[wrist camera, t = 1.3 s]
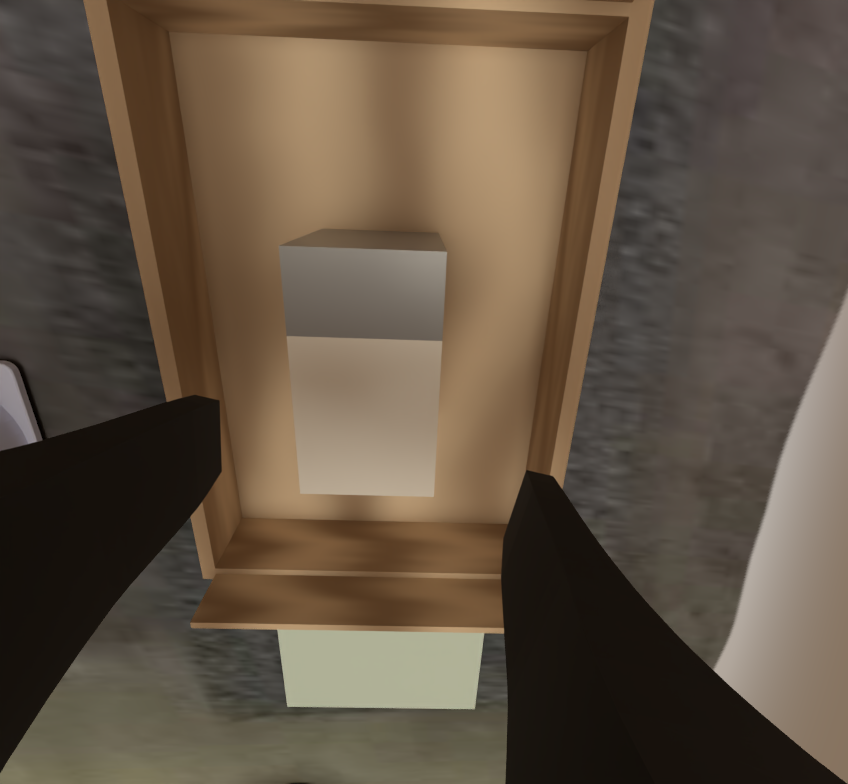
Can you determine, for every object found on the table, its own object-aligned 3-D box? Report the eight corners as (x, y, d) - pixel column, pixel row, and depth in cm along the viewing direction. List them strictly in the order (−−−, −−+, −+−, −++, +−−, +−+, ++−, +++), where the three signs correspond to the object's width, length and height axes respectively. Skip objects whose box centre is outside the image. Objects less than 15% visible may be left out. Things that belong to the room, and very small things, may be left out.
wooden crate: (236, 519, 24) (175, 627, 18) (156, 14, 16) (-7, -95, 10) (525, 525, 24) (559, 634, 18) (602, 35, 16) (711, -57, 10)
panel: (289, 698, 30) (287, 706, 29) (271, 555, 25) (268, 562, 25) (473, 701, 30) (474, 709, 30) (491, 560, 25) (492, 566, 25)
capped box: (331, 414, 21) (300, 493, 15) (322, 228, 18) (278, 245, 12) (430, 416, 21) (433, 496, 16) (438, 233, 18) (447, 251, 12)
